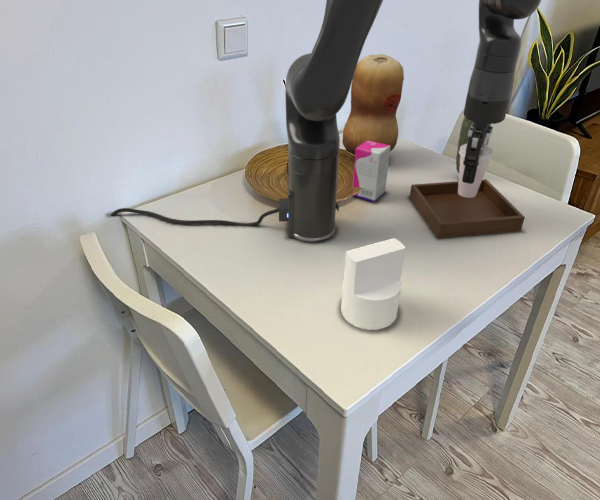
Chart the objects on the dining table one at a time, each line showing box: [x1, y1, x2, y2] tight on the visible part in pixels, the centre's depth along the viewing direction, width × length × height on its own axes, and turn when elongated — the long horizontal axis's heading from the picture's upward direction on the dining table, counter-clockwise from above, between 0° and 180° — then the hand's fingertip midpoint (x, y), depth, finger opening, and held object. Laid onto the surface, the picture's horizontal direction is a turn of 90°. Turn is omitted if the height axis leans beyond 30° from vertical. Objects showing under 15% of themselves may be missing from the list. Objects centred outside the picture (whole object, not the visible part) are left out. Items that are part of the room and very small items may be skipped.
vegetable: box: [455, 116, 475, 175], centre depth 116 cm, size 4×4×20 cm
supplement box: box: [352, 140, 391, 203], centre depth 111 cm, size 6×6×12 cm
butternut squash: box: [341, 53, 405, 155], centre depth 123 cm, size 14×13×25 cm
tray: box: [409, 178, 526, 240], centre depth 107 cm, size 18×17×3 cm
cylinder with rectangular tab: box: [340, 237, 406, 331], centre depth 79 cm, size 9×9×12 cm
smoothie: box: [458, 144, 494, 198], centre depth 101 cm, size 6×6×14 cm
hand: (470, 174), depth 103 cm, fingers closed on smoothie, 6 cm apart
